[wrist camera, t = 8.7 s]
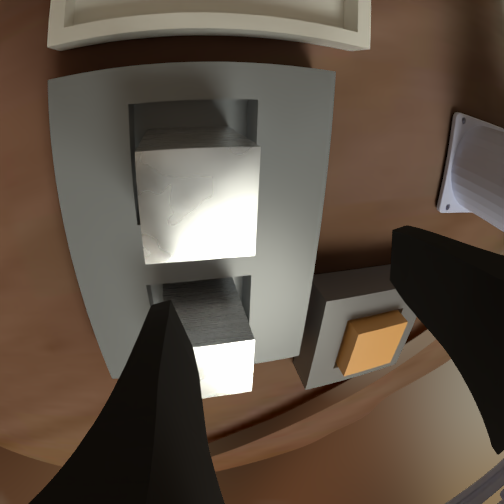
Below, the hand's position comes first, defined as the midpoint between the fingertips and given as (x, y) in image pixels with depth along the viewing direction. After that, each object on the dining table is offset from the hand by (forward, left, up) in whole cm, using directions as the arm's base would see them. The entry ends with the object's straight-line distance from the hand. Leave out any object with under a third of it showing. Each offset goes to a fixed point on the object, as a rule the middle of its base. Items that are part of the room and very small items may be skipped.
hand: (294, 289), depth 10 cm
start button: (-10, +11, -8) cm, 17 cm away
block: (+2, +7, -9) cm, 11 cm away
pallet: (+2, +2, -9) cm, 10 cm away
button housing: (-10, +11, -9) cm, 17 cm away
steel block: (+3, -2, -9) cm, 9 cm away
